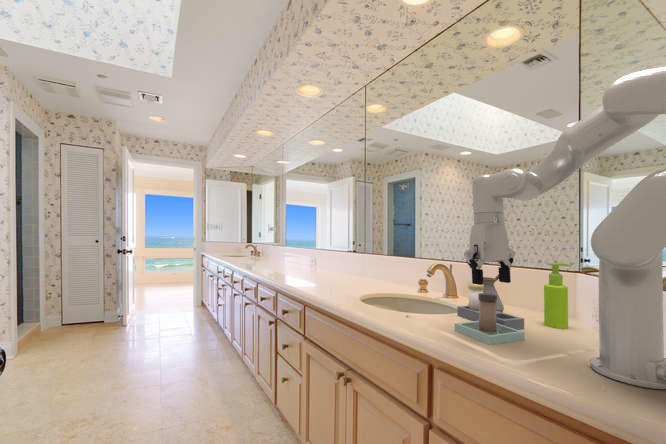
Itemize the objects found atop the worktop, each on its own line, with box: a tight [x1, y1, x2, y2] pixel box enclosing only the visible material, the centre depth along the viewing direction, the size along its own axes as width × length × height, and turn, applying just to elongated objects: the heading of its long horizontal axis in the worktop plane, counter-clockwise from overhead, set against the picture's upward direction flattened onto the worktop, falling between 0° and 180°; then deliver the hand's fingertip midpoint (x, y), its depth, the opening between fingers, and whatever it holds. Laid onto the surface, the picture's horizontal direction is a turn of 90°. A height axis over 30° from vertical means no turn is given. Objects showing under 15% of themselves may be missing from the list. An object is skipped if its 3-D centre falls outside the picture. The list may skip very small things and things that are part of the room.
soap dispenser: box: [543, 262, 572, 330], centre depth 94 cm, size 6×7×20 cm
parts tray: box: [454, 321, 526, 346], centre depth 84 cm, size 12×12×3 cm
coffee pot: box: [467, 273, 505, 313], centre depth 114 cm, size 21×12×15 cm, turn 128°
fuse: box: [467, 282, 484, 311], centre depth 102 cm, size 5×5×11 cm
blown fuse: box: [477, 293, 498, 335], centre depth 84 cm, size 5×5×11 cm
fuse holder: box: [456, 305, 525, 331], centre depth 97 cm, size 18×8×4 cm, turn 21°
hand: (491, 283), depth 84 cm, fingers open, 9 cm apart
